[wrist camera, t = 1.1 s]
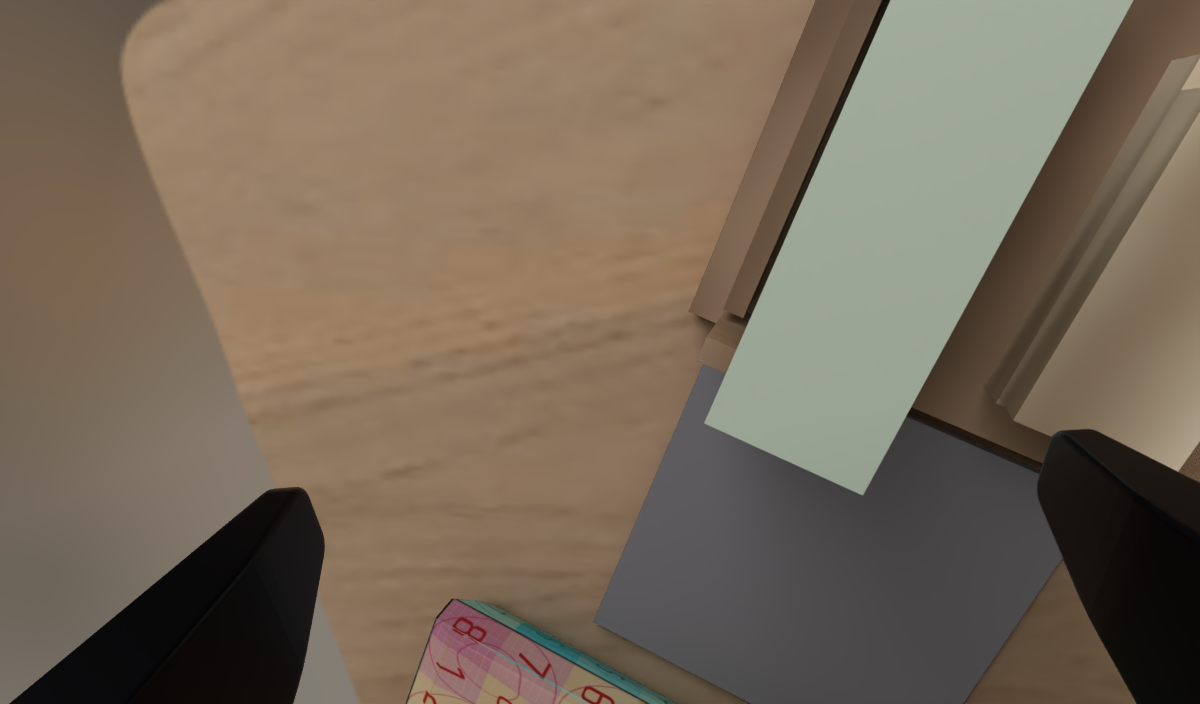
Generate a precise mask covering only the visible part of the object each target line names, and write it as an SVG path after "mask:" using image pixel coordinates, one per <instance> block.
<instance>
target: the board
mask: <svg viewBox="0 0 1200 704" xmlns="http://www.w3.org/2000/svg"><path fill="white" fill-rule="evenodd" d="M1132 2H1133V0H890V2H889V5H888V7H887V9H886V11H885V14H884V16H883V18H882V20H881V23H880V25H879V27H878V30H877V32H876V34H875V36H874V39H873V41H872V43H871V45H870V48H869V50H868V52H867V55H866V57H865V59H864V61H863V64H862V66H861V68H860V70H859V73H858V75H857V77H856V80H855V82H854V84H853V86H852V89H851V91H850V93H849V95H848V98H847V100H846V102H845V104H844V107H843V109H842V111H841V114H840V116H839V118H838V120H837V123H836V125H835V127H834V129H833V132H832V134H831V136H830V139H829V141H828V143H827V145H826V148H825V150H824V152H823V154H822V157H821V159H820V161H819V164H818V166H817V168H816V170H815V173H814V175H813V177H812V179H811V182H810V184H809V186H808V189H807V191H806V193H805V195H804V198H803V200H802V202H801V204H800V207H799V209H798V211H797V214H796V216H795V218H794V220H793V223H792V225H791V227H790V229H789V232H788V234H787V236H786V238H785V241H784V243H783V245H782V248H781V250H780V252H779V254H778V257H777V259H776V261H775V263H774V266H773V268H772V270H771V273H770V275H769V277H768V279H767V282H766V284H765V286H764V288H763V291H762V293H761V295H760V298H759V300H758V302H757V304H756V307H755V309H754V311H753V313H752V316H751V318H750V320H749V323H748V325H747V327H746V329H745V332H744V334H743V336H742V338H741V341H740V343H739V345H738V347H737V350H736V352H735V354H734V357H733V359H732V361H731V363H730V366H729V368H728V370H727V372H726V375H725V377H724V379H723V382H722V384H721V386H720V388H719V391H718V393H717V395H716V397H715V400H714V402H713V404H712V407H711V409H710V411H709V413H708V416H707V418H706V420H705V422H704V423H705V424H707V425H709V426H711V427H713V428H716V429H718V430H720V431H722V432H724V433H727V434H729V435H731V436H733V437H735V438H738V439H740V440H742V441H744V442H746V443H749V444H751V445H753V446H755V447H757V448H759V449H762V450H764V451H766V452H768V453H770V454H773V455H775V456H777V457H779V458H781V459H784V460H786V461H788V462H790V463H792V464H795V465H797V466H799V467H801V468H803V469H806V470H808V471H810V472H812V473H814V474H817V475H819V476H821V477H823V478H825V479H828V480H830V481H832V482H834V483H836V484H839V485H841V486H843V487H845V488H847V489H850V490H852V491H854V492H856V493H858V494H861V495H863V494H864V492H865V491H866V489H867V487H868V485H869V483H870V481H871V480H872V478H873V476H874V474H875V472H876V471H877V469H878V467H879V465H880V463H881V461H882V460H883V458H884V456H885V454H886V452H887V450H888V449H889V447H890V445H891V443H892V441H893V439H894V438H895V436H896V434H897V432H898V430H899V428H900V427H901V425H902V423H903V421H904V419H905V417H906V416H907V414H908V412H909V410H910V408H911V406H912V405H913V403H914V401H915V399H916V397H917V395H918V394H919V392H920V390H921V388H922V386H923V385H924V383H925V381H926V379H927V377H928V375H929V374H930V372H931V370H932V368H933V366H934V364H935V363H936V361H937V359H938V357H939V355H940V353H941V352H942V350H943V348H944V346H945V344H946V342H947V341H948V339H949V337H950V335H951V333H952V331H953V330H954V328H955V326H956V324H957V322H958V320H959V319H960V317H961V315H962V313H963V311H964V309H965V308H966V306H967V304H968V302H969V300H970V299H971V297H972V295H973V293H974V291H975V289H976V288H977V286H978V284H979V282H980V280H981V278H982V277H983V275H984V273H985V271H986V269H987V267H988V266H989V264H990V262H991V260H992V258H993V256H994V255H995V253H996V251H997V249H998V247H999V245H1000V244H1001V242H1002V240H1003V238H1004V236H1005V234H1006V233H1007V231H1008V229H1009V227H1010V225H1011V224H1012V222H1013V220H1014V218H1015V216H1016V214H1017V213H1018V211H1019V209H1020V207H1021V205H1022V203H1023V202H1024V200H1025V198H1026V196H1027V194H1028V192H1029V191H1030V189H1031V187H1032V185H1033V183H1034V181H1035V180H1036V178H1037V176H1038V174H1039V172H1040V170H1041V169H1042V167H1043V165H1044V163H1045V161H1046V159H1047V158H1048V156H1049V154H1050V152H1051V150H1052V148H1053V147H1054V145H1055V143H1056V141H1057V139H1058V138H1059V136H1060V134H1061V132H1062V130H1063V128H1064V127H1065V125H1066V123H1067V121H1068V119H1069V117H1070V116H1071V114H1072V112H1073V110H1074V108H1075V106H1076V105H1077V103H1078V101H1079V99H1080V97H1081V95H1082V94H1083V92H1084V90H1085V88H1086V86H1087V84H1088V83H1089V81H1090V79H1091V77H1092V75H1093V73H1094V72H1095V70H1096V68H1097V66H1098V64H1099V62H1100V61H1101V59H1102V57H1103V55H1104V53H1105V52H1106V50H1107V48H1108V46H1109V44H1110V42H1111V41H1112V39H1113V37H1114V35H1115V33H1116V31H1117V30H1118V28H1119V26H1120V24H1121V22H1122V20H1123V19H1124V17H1125V15H1126V13H1127V11H1128V9H1129V8H1130V6H1131V4H1132Z"/></svg>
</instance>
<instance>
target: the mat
mask: <svg viewBox="0 0 1200 704" xmlns="http://www.w3.org/2000/svg"><path fill="white" fill-rule="evenodd" d="M725 375H726V373H723V372H721V371H719V370H717V369H714V368H712V367H710V366H707V365H705V364H703V366H702V368H701V370H700V373H699V375H698V377H697V380H696V382H695V384H694V387H693V389H692V391H691V394H690V396H689V398H688V401H687V403H686V405H685V408H684V410H683V412H682V415H681V417H680V420H679V422H678V424H677V427H676V429H675V431H674V434H673V436H672V438H671V441H670V443H669V445H668V448H667V450H666V452H665V455H664V457H663V459H662V462H661V464H660V466H659V469H658V471H657V473H656V476H655V478H654V481H653V483H652V485H651V488H650V490H649V492H648V495H647V497H646V499H645V502H644V504H643V506H642V509H641V511H640V513H639V516H638V518H637V520H636V523H635V525H634V527H633V530H632V532H631V534H630V537H629V539H628V542H627V544H626V546H625V549H624V551H623V553H622V556H621V558H620V560H619V563H618V565H617V567H616V570H615V572H614V574H613V577H612V579H611V581H610V584H609V586H608V588H607V591H606V593H605V595H604V598H603V600H602V602H601V605H600V607H599V610H598V612H597V614H596V617H595V619H594V621H593V622H594V623H596V624H598V625H600V626H602V627H603V628H605V629H607V630H609V631H611V632H613V633H615V634H617V635H619V636H621V637H623V638H625V639H627V640H629V641H631V642H632V643H634V644H636V645H638V646H640V647H642V648H644V649H646V650H648V651H650V652H652V653H654V654H656V655H658V656H659V657H661V658H663V659H665V660H667V661H669V662H671V663H673V664H675V665H677V666H679V667H681V668H683V669H685V670H687V671H688V672H690V673H692V674H694V675H696V676H698V677H700V678H702V679H704V680H706V681H708V682H710V683H712V684H714V685H715V686H717V687H719V688H721V689H723V690H725V691H727V692H729V693H731V694H733V695H735V696H737V697H739V698H741V699H743V700H744V701H746V702H748V703H750V704H963V703H964V702H965V700H966V699H967V697H968V696H969V694H970V693H971V691H972V690H973V688H974V687H975V685H976V684H977V683H978V681H979V680H980V678H981V677H982V675H983V674H984V672H985V671H986V669H987V668H988V666H989V665H990V663H991V662H992V661H993V659H994V658H995V656H996V655H997V653H998V652H999V650H1000V649H1001V647H1002V646H1003V644H1004V643H1005V641H1006V640H1007V639H1008V637H1009V636H1010V634H1011V633H1012V631H1013V630H1014V628H1015V627H1016V625H1017V624H1018V622H1019V621H1020V619H1021V618H1022V616H1023V615H1024V614H1025V612H1026V611H1027V609H1028V608H1029V606H1030V605H1031V603H1032V602H1033V600H1034V599H1035V597H1036V596H1037V594H1038V593H1039V592H1040V590H1041V589H1042V587H1043V586H1044V584H1045V583H1046V581H1047V580H1048V578H1049V577H1050V575H1051V574H1052V572H1053V571H1054V570H1055V568H1056V567H1057V565H1058V564H1059V562H1060V561H1061V559H1062V558H1063V557H1062V555H1061V553H1060V550H1059V548H1058V546H1057V543H1056V541H1055V539H1054V536H1053V534H1052V532H1051V529H1050V527H1049V524H1048V522H1047V520H1046V517H1045V515H1044V513H1043V510H1042V508H1041V506H1040V503H1039V500H1038V496H1037V482H1038V478H1039V474H1040V471H1041V470H1038V469H1036V468H1034V467H1031V466H1029V465H1027V464H1024V463H1022V462H1020V461H1017V460H1015V459H1013V458H1010V457H1008V456H1006V455H1003V454H1001V453H999V452H997V451H994V450H992V449H990V448H987V447H985V446H983V445H980V444H978V443H976V442H973V441H971V440H969V439H966V438H964V437H962V436H959V435H957V434H955V433H952V432H950V431H948V430H946V429H943V428H941V427H939V426H936V425H934V424H932V423H929V422H927V421H925V420H922V419H920V418H918V417H915V416H913V415H911V414H907V416H906V417H905V419H904V421H903V423H902V425H901V427H900V428H899V430H898V432H897V434H896V436H895V438H894V439H893V441H892V443H891V445H890V447H889V449H888V450H887V452H886V454H885V456H884V458H883V460H882V461H881V463H880V465H879V467H878V469H877V471H876V472H875V474H874V476H873V478H872V480H871V481H870V483H869V485H868V487H867V489H866V491H865V492H864V494H863V495H861V494H858V493H856V492H854V491H852V490H850V489H847V488H845V487H843V486H841V485H839V484H836V483H834V482H832V481H830V480H828V479H825V478H823V477H821V476H819V475H817V474H814V473H812V472H810V471H808V470H806V469H803V468H801V467H799V466H797V465H795V464H792V463H790V462H788V461H786V460H784V459H781V458H779V457H777V456H775V455H773V454H770V453H768V452H766V451H764V450H762V449H759V448H757V447H755V446H753V445H751V444H749V443H746V442H744V441H742V440H740V439H738V438H735V437H733V436H731V435H729V434H727V433H724V432H722V431H720V430H718V429H716V428H713V427H711V426H709V425H707V424H705V423H704V422H705V420H706V418H707V416H708V413H709V411H710V409H711V407H712V404H713V402H714V400H715V397H716V395H717V393H718V391H719V388H720V386H721V384H722V382H723V379H724V377H725Z"/></svg>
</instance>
